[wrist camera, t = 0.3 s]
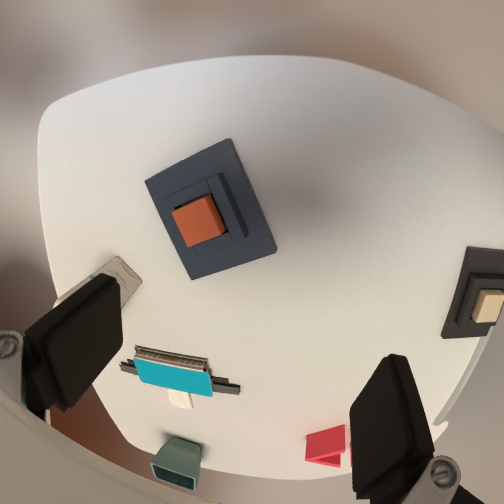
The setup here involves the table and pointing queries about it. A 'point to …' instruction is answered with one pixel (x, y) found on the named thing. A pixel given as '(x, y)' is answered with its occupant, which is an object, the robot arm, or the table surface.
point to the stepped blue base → (227, 203)
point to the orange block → (199, 221)
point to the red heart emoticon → (326, 446)
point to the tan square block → (488, 305)
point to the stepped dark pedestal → (474, 292)
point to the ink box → (117, 270)
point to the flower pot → (178, 463)
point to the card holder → (177, 375)
